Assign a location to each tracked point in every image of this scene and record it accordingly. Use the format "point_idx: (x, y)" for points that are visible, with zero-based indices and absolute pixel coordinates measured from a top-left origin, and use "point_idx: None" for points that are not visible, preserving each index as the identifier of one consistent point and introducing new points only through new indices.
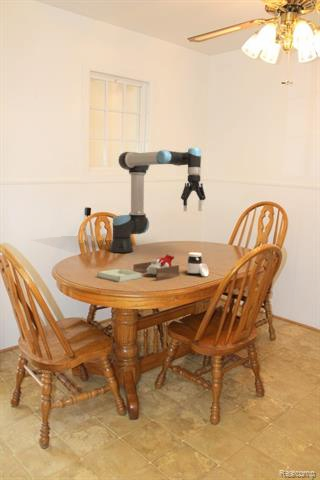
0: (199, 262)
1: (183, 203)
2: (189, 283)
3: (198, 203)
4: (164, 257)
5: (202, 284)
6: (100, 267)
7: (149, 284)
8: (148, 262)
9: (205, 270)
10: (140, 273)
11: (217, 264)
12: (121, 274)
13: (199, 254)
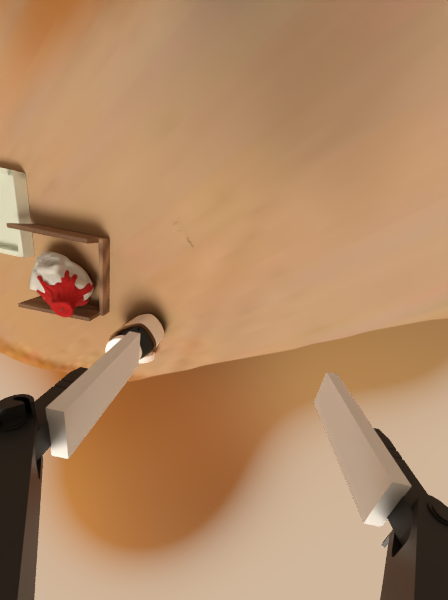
0: None
1: (59, 382)
2: (75, 353)
3: (361, 432)
4: (50, 296)
5: None
6: (28, 37)
7: (11, 302)
8: (58, 236)
9: (150, 354)
10: (20, 256)
11: (307, 314)
12: (9, 198)
13: None
